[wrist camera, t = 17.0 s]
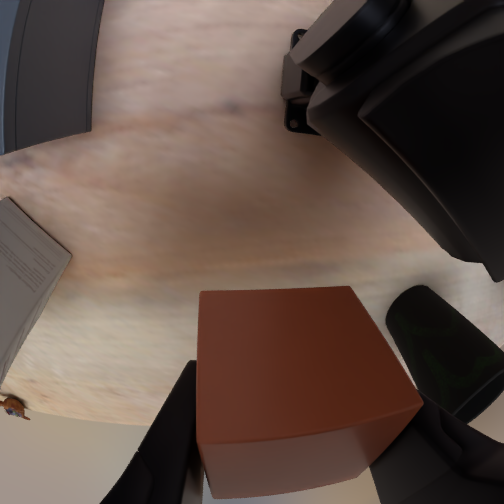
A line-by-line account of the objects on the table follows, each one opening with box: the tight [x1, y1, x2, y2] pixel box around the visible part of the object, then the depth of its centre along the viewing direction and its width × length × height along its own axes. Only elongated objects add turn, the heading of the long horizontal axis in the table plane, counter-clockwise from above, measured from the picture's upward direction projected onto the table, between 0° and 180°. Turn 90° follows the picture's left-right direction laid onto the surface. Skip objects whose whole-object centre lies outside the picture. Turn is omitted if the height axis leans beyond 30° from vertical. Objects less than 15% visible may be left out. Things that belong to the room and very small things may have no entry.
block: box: [196, 286, 423, 499], centre depth 7 cm, size 4×4×4 cm
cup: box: [386, 285, 504, 424], centre depth 19 cm, size 8×8×12 cm
